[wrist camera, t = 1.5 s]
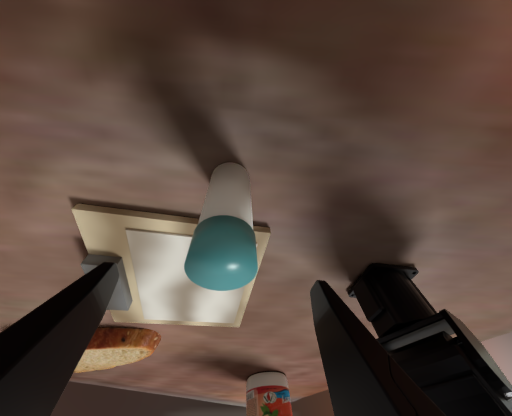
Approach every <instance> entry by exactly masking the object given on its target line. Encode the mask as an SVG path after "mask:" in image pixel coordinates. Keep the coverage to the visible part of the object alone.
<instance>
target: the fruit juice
mask: <svg viewBox="0 0 512 416" xmlns="http://www.w3.org/2000/svg"><path fill="white" fill-rule="evenodd" d="M246 397H247V416H292V409H291V402H290V395H289V388H288V381H287V378H286V376H285V375H284V374H282V373H279V372H262V373H257V374H254V375H252V376H250V377H249V378H248V379H247V385H246Z"/></svg>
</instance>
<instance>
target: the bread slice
mask: <svg viewBox="0 0 512 416" xmlns="http://www.w3.org/2000/svg"><path fill="white" fill-rule="evenodd" d="M160 340H161V335H160V334H159V333H157V332H155V331H153V330H150V329H139V328H125V327H106V328H102V327H98V328H97V329H96V331H95V333H94V335H93V337H92V339H91V341H90V342H89V344H88V346H87V348H86V350H85V352H84V354H83V355H82V357H81V359H80V361H79V363H78V365H77V367H76V368H75V370H74V372H77V373H80V372H86V371H93V370H103V369H109V368H113V367H115V366H118V365H124V364H128V363H132V362H136V361H140V360H141V359H143V358H146V357H149V356H150V355H151V354H152V353H153V352H154V350H155V349H156V347H157V346H158V344H159V342H160Z"/></svg>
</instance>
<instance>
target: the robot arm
mask: <svg viewBox="0 0 512 416" xmlns="http://www.w3.org/2000/svg"><path fill="white" fill-rule="evenodd" d="M418 272H419V271H418V270H417V269H416V268H412V267H403V266H394V265H384V264H371V265H370V266H369V267H368V268H367V269H366V271H365V272H364V273H363V274H362V276H361V277H360V278H359V279H358V281H357V282H356V283H355V284H354V286H353V287H352V288H351V289H350V291H349V292H348V295H349V297H354V298H357V300H358V302H359V304H360V306H361V308H362V310H363V312H364V314H365V316H366V318H367V320H368V321H369V322H371V323H372V325H373V327H374V329H375V331H376V333H377V335H378V337H379V338H378V339H375V338H374V336H373V335H372V334H371V333H370V332H369V331H368V329H367V328H366V327H365V326H364V325H363V324H362V323H361V321H360V320H359V319H358V318H357V317H356V316H355V314H354V313H353V312H352V311H351V310H350V309H349V308H348V306H347V305H346V304H345V303H344V302H343V301H342V299H341V298H340V297H339V296H338V295H337V294H336V293H335V291H334V290H333V289H332V288H331V287H330V286H329V284H328V283H327V282H326V281H322V280H317V281H316V282H315V284H314V285H313V287H312V288H311V291H310V296H311V304H312V312H313V320H314V327H315V332H316V336H317V341H318V345H319V349H320V354H321V358H322V363H323V367H324V371H325V376H326V380H327V384H328V389H329V393H330V398H331V402H332V406H333V411H334V415H335V416H512V385H511V384H510V382H509V381H508V380H507V378H506V377H505V375H504V374H503V373H502V372H501V370H500V369H499V367H498V366H497V364H496V363H495V361H494V360H493V359H492V357H491V356H490V354H489V353H488V352H487V350H486V349H485V347H484V346H483V345H482V344H481V342H480V341H479V340H478V339H477V338H476V337H475V336H474V335H473V333H472V332H471V331H470V330H469V329H468V328H467V327H466V326H465V325H464V323H463V322H462V321H460V320H459V319H458V318H456V317H455V316H454V315H452V314H451V313H450V312H448V311H447V310H446V309H443V310H441V311H439V313H437V312H436V311H435V309H434V308H433V307H432V306H431V304H430V303H429V302H428V301H427V299H426V298H425V297H424V295H423V294H422V293H421V292H420V290H419V289H418V288H417V287H416V285H415V284H414V283H413V281H412V280H411V279H412V278H413V277H414V276H415V275H417V274H418ZM118 280H119V271H118V267H117V264H116V263H115V262H109V261H105V262H103V263H101V264H100V265H98V266H97V267H95V268H94V269H92V270H91V271H89V272H88V273H87V274H85V275H84V276H82V277H81V278H79V279H78V280H76V281H75V282H73V283H72V284H71V285H69V286H68V287H66V288H65V289H63V290H62V291H60V292H59V293H57V294H56V295H55V296H53V297H52V298H50V299H49V300H47V301H46V302H44V303H43V304H41V305H40V306H39V307H37V308H36V309H34V310H33V311H31V312H30V313H28V314H27V315H26V316H24V317H23V318H21V319H20V320H18V321H17V322H15V323H14V324H12V325H11V326H10V327H8V328H7V329H5V330H4V331H2V332H1V333H0V416H50V415H51V413H52V411H53V409H54V408H55V406H56V404H57V402H58V400H59V398H60V396H61V394H62V393H63V391H64V389H65V387H66V385H67V383H68V381H69V380H70V378H71V376H72V374H73V372H74V370H75V368H76V367H77V365H78V363H79V361H80V359H81V357H82V355H83V354H84V352H85V350H86V348H87V346H88V344H89V342H90V341H91V339H92V337H93V335H94V333H95V331H96V329H97V328H98V326H99V324H100V322H101V320H102V318H103V316H104V314H105V311H106V309H107V307H108V304H109V302H110V299H111V297H112V294H113V292H114V290H115V287H116V285H117V282H118ZM454 333H455V334H456V335H457V337H455V338H452V337H451V336H450V335H452V334H454Z"/></svg>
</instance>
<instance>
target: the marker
mask: <svg viewBox="0 0 512 416" xmlns="http://www.w3.org/2000/svg"><path fill="white" fill-rule="evenodd" d="M184 270H185V273H186V275H187V277H188V278H189V279H190V280H191V281H192V282H193V283H195V284H197V285H198V286H200V287H203V288H206V289H209V290H216V291H228V290H234V289H238V288H241V287H243V286H245V285H247V284H248V283H250V282H251V281H252V280H253V279H254V278H255V276H256V274H257V271H258V263H257V250H256V237H255V233H254V231H253V218H252V203H251V188H250V176H249V174H248V172H247V170H246V169H245V168H244V167H243V166H241V165H239V164H237V163H233V162H227V163H223V164H220V165H219V166H217V167H216V168H215V169H214V171H213V173H212V176H211V179H210V183H209V187H208V190H207V194H206V197H205V201H204V204H203V208H202V211H201V215H200V218H199V222H198V225H197V227H196V228H195V230H194V233H193V236H192V239H191V243H190V246H189V250H188V253H187V256H186V260H185V263H184Z"/></svg>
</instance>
